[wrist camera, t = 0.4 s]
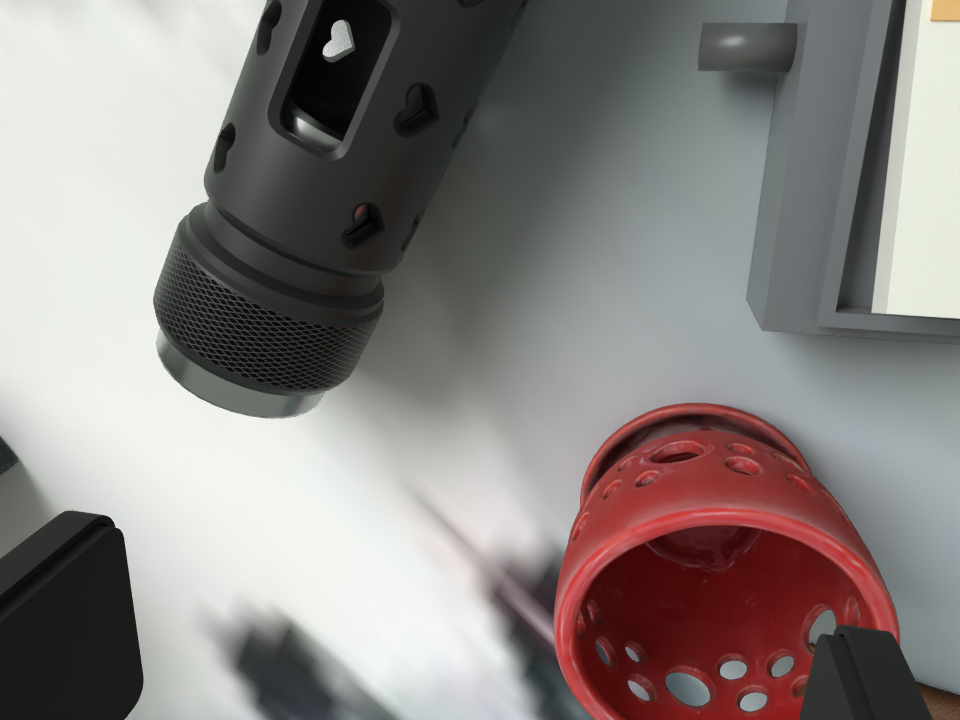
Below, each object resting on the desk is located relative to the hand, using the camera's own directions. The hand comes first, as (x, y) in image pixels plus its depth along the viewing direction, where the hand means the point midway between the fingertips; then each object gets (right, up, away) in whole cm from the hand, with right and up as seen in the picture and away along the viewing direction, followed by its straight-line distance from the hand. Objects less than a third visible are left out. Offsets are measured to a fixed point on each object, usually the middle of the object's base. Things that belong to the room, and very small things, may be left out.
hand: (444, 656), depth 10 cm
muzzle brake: (-3, +17, +27) cm, 32 cm away
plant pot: (+12, -3, +31) cm, 33 cm away
